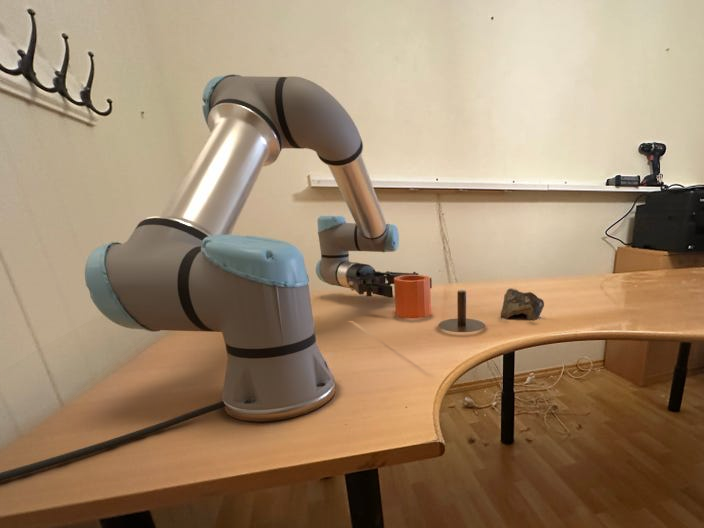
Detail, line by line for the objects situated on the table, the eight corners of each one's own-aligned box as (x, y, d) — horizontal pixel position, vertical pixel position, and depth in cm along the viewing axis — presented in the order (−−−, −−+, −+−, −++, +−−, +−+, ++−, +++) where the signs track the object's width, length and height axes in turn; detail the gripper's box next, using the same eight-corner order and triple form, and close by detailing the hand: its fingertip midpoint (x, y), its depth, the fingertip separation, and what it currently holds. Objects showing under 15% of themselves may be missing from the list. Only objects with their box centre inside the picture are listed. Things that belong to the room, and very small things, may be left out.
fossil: (541, 311, 108) (546, 282, 101) (541, 335, 103) (546, 306, 95) (501, 308, 109) (503, 279, 101) (499, 332, 103) (501, 303, 96)
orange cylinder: (405, 323, 98) (403, 282, 94) (390, 315, 104) (388, 276, 100) (437, 318, 102) (436, 279, 99) (420, 310, 109) (419, 273, 105)
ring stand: (454, 339, 88) (454, 298, 84) (429, 326, 96) (428, 289, 93) (494, 331, 94) (495, 293, 90) (467, 319, 102) (468, 284, 99)
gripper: (392, 283, 123) (444, 293, 111) (319, 297, 104) (373, 311, 93) (391, 258, 120) (444, 266, 108) (316, 268, 101) (371, 279, 90)
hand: (412, 287), depth 100 cm, fingers open, 13 cm apart
